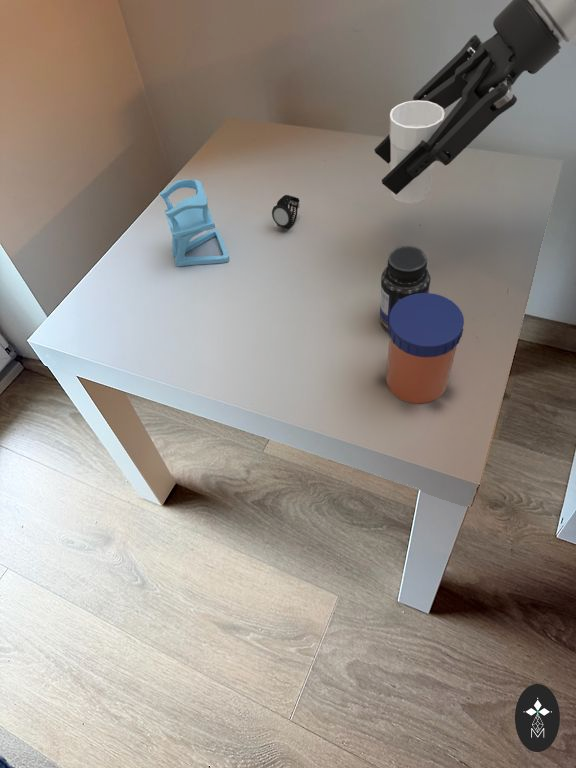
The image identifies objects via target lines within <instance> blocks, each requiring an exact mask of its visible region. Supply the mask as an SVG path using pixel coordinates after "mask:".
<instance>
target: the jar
mask: <svg viewBox="0 0 576 768" xmlns="http://www.w3.org/2000/svg"><path fill="white" fill-rule="evenodd" d="M457 347H458V344H457V345H456V346H455V347H454V348H453V350H451V351H449V352H447V353H446V354H443V355H440V356H437V357H427V358H426V357H418V356H414V355H411V354H407V353H406V352H404V351H402V350H401V349H399V348H398V347H397V346H396V345H395V344H394V343H393V341H392V340H391V338H390V336H389V338H388V350H387V361H386V362H387V363H386V374H385V381H386V384H387V387H388V389H389V390H390V392H391V393H392V394H393V395H394V396H396V397H397V398H398V399H400V400H402V401H404V402H407V403H410V404H427V403H431V402H434V401H436V400H437V399H439V398H440V397H441V396H442V395H443V394H444V393H445V391H446V389H447V387H448V383H449V379H450V376H451V371H452V367H453V363H454V358H455V354H456V350H457Z"/></svg>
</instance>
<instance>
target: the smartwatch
mask: <svg viewBox="0 0 576 768" xmlns="http://www.w3.org/2000/svg"><path fill="white" fill-rule="evenodd" d="M300 205H301V204H300V199H299V197H296V196H292V195H290V194H284V195H283V196H282V197H280V199H278V201H277V203H276V205H274V206H273V208H272V210H271V217H272V220H273V221H274V223H275V224H276V225H277V227H279V228H283V229H285V230H289V229H291V228H293V226H294V225H295V223H296V221H297V217H298V211H299V210H298V209H300Z"/></svg>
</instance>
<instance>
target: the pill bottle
mask: <svg viewBox="0 0 576 768" xmlns="http://www.w3.org/2000/svg"><path fill="white" fill-rule="evenodd" d="M427 267H428V256H427V254H426V252H425V251H424V250H423V249H421V248H420V247H417V246H414V245H413V246H412V245H401V246H398V247H395V248H394V249H393V250H392V251H390V253H389V255H388V257H387V265H386V267H384V268H383V271H382V273H381V277H380V278H381V279H380V298H379V317H378V318H379V322H380V325H381V327H383V329H385V330H386V331H387V332H389V329H388V321H389V315H390V312H391V310H392V308H393V306H394V305H395V304H396V303H397V302H398V301H399V300H401V299H402V298H404V297H406V296H409V295H412V294H417V293H430V286H431V277H432V276H431V273H430V271H429V269H428V268H427Z"/></svg>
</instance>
